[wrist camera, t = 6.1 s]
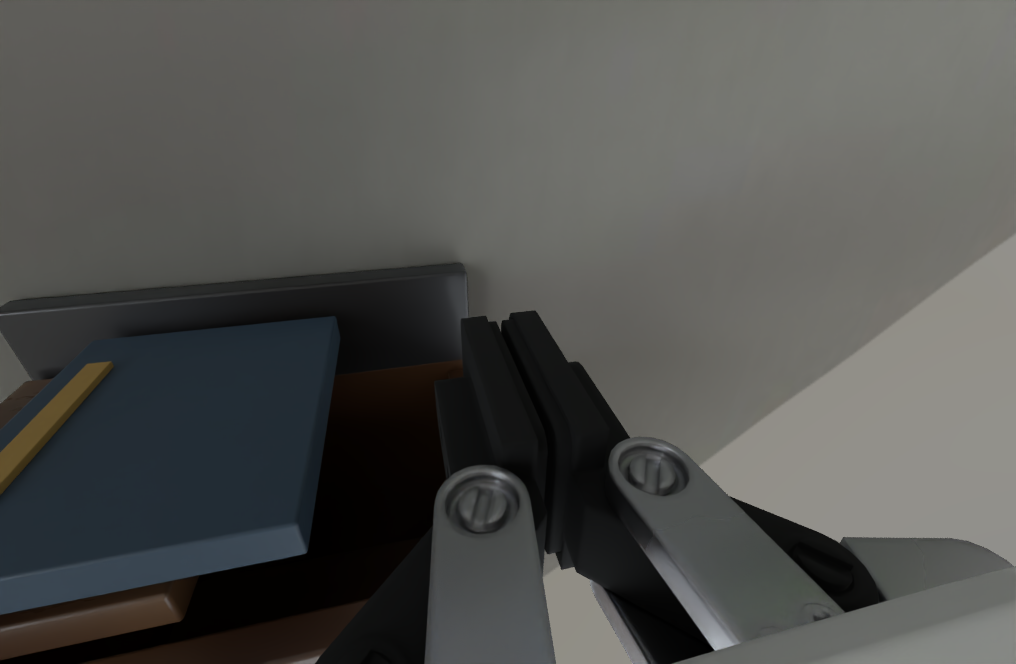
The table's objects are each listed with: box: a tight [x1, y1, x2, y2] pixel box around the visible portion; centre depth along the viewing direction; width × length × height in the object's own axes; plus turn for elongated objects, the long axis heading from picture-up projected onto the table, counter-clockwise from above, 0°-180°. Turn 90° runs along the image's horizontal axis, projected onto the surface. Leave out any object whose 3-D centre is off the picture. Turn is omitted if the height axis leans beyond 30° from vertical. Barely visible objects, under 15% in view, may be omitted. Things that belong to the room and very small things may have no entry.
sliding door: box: [0, 316, 340, 615], centre depth 10 cm, size 6×1×7 cm, turn 90°
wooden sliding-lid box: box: [0, 263, 469, 664], centre depth 13 cm, size 12×13×9 cm
